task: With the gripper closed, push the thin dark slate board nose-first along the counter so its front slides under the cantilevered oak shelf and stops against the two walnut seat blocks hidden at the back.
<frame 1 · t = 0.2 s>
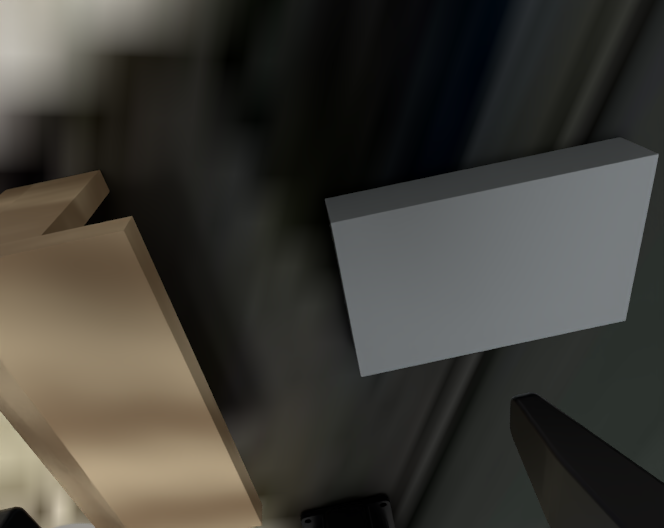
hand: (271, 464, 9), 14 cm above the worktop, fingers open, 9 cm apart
slate board: (470, 246, 25), on the worktop
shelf: (168, 317, 24), on the worktop
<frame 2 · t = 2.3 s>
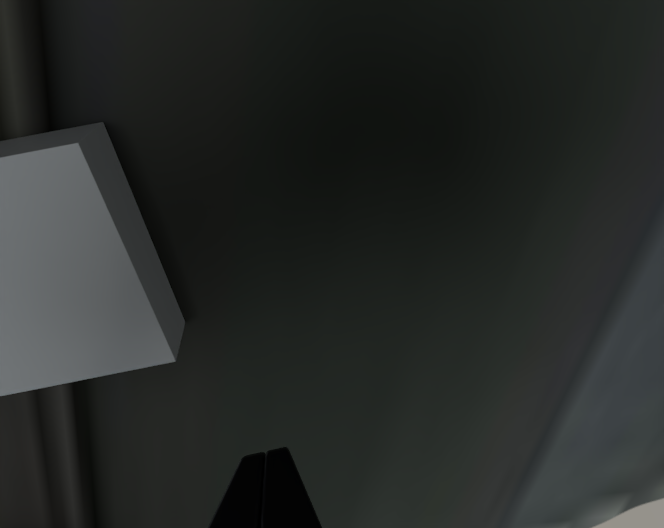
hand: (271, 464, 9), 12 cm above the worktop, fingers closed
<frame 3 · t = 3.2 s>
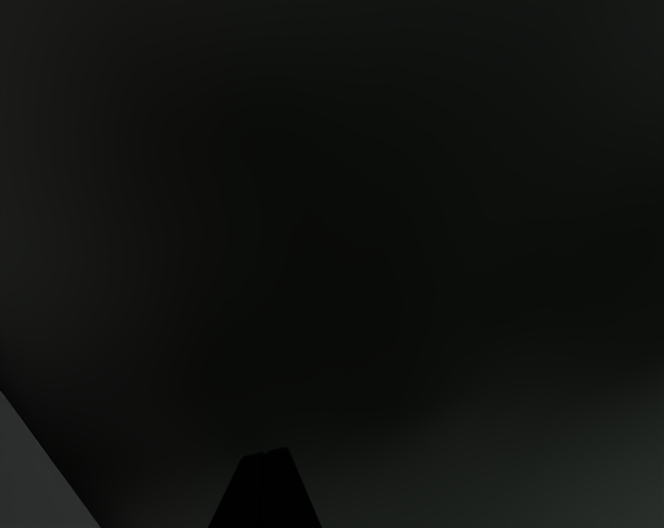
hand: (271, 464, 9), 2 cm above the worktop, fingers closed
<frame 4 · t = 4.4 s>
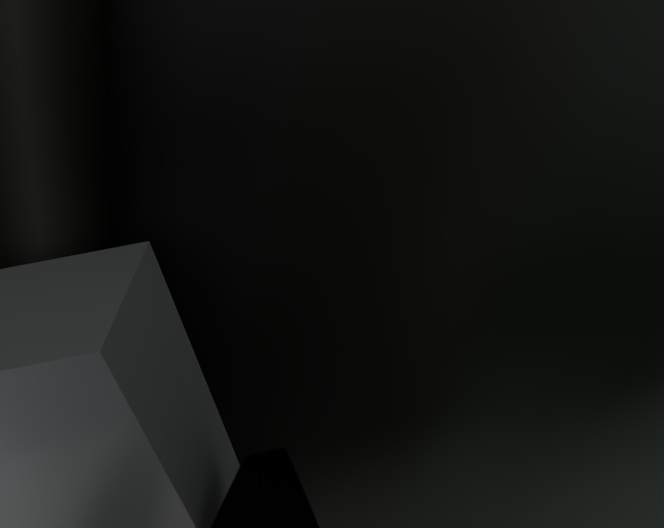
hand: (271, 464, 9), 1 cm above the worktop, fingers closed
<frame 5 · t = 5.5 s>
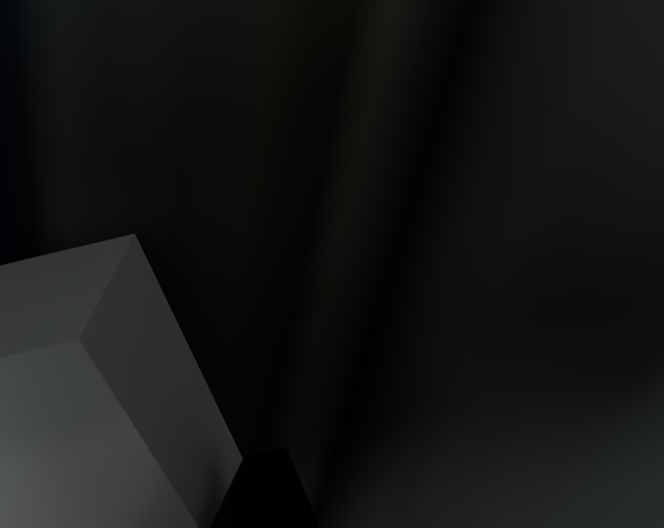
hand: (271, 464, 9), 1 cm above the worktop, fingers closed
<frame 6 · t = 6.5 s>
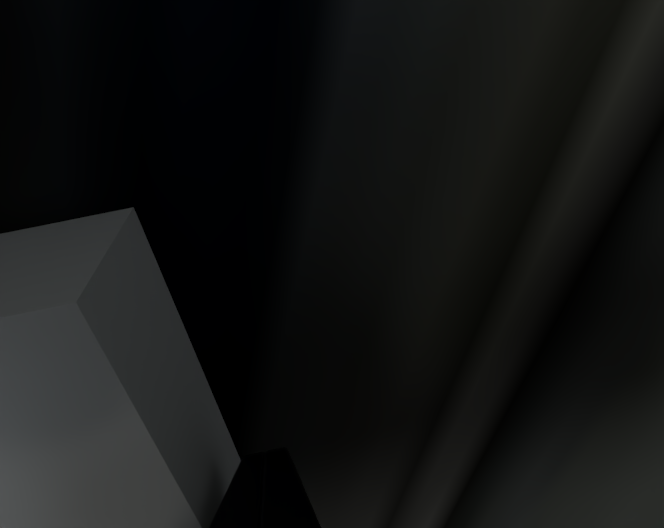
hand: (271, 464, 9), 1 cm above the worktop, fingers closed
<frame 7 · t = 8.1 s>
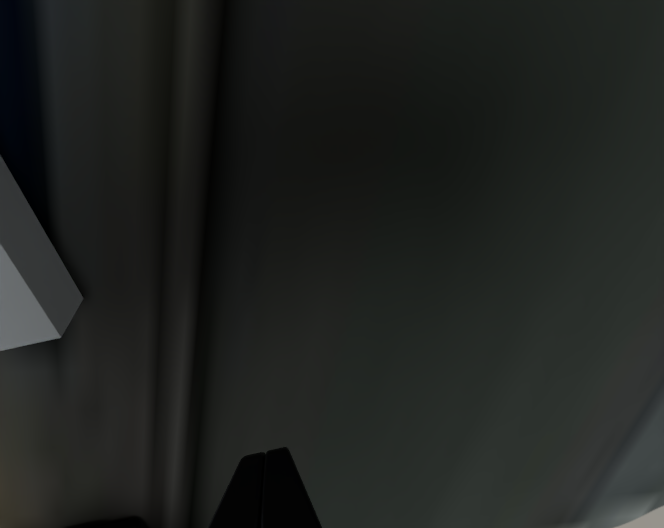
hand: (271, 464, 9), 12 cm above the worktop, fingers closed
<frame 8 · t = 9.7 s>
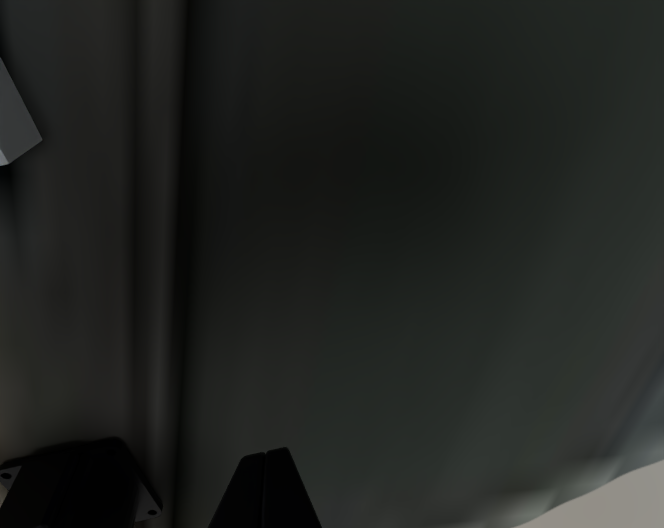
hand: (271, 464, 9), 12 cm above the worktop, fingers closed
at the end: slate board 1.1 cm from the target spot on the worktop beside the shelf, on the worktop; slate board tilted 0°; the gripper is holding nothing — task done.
